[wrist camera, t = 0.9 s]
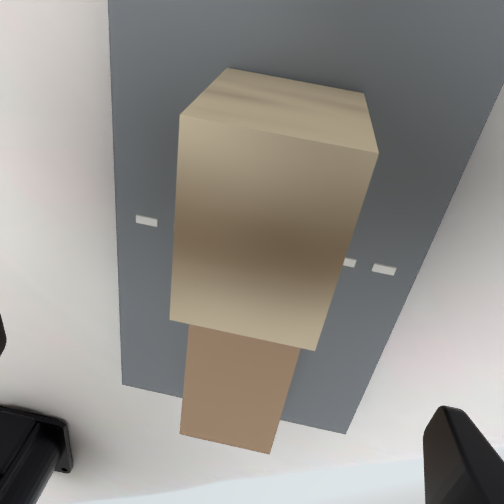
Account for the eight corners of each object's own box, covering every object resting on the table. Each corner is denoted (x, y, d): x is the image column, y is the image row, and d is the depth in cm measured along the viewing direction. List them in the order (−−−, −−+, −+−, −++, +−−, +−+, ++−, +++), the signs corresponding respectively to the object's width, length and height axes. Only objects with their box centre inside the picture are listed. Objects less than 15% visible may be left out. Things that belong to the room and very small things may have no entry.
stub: (319, 253, 20) (315, 351, 15) (210, 230, 20) (169, 319, 15) (363, 93, 16) (379, 153, 11) (227, 67, 16) (180, 114, 11)
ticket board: (345, 420, 27) (346, 482, 24) (128, 372, 28) (101, 426, 25) (542, -35, 14) (608, -34, 11) (116, -108, 15) (53, -128, 11)
